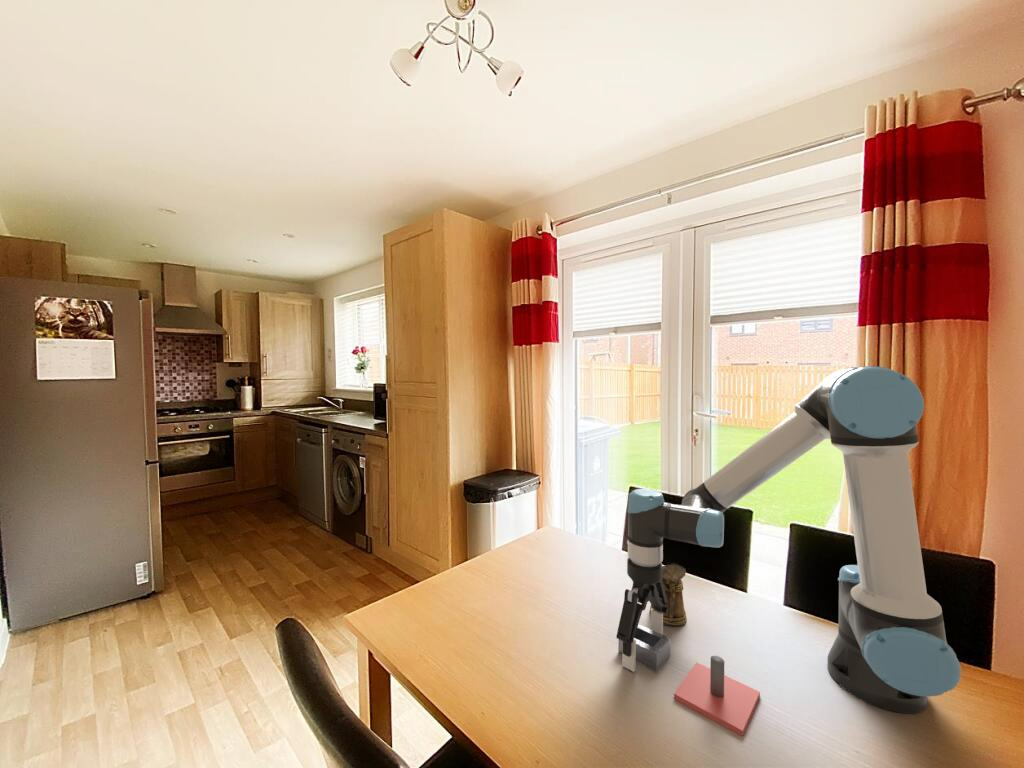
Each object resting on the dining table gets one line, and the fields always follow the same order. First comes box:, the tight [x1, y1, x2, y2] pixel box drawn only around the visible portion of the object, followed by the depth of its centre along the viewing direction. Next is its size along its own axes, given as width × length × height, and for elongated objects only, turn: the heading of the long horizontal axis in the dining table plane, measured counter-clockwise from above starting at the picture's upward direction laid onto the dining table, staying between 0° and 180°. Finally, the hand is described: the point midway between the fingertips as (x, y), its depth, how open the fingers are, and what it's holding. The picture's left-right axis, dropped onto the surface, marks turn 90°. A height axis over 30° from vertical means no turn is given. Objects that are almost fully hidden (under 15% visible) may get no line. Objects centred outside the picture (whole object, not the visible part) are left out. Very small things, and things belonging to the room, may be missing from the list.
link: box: [617, 624, 671, 673], centre depth 92 cm, size 9×7×4 cm
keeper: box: [673, 655, 761, 737], centre depth 79 cm, size 12×12×8 cm
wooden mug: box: [649, 562, 688, 627], centre depth 104 cm, size 9×14×18 cm, turn 167°
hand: (643, 652), depth 92 cm, fingers open, 13 cm apart
